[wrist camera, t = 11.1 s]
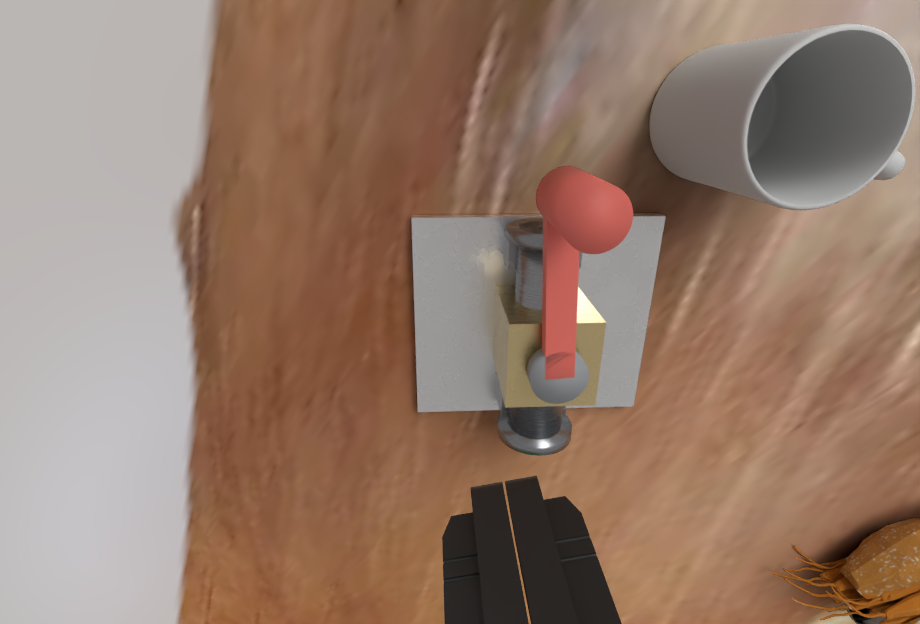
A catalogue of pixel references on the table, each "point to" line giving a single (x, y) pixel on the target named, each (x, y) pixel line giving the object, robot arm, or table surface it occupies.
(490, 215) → the valve body
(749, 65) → the mug
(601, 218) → the lever
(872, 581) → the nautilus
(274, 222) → the table surface
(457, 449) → the table surface
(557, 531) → the robot arm
